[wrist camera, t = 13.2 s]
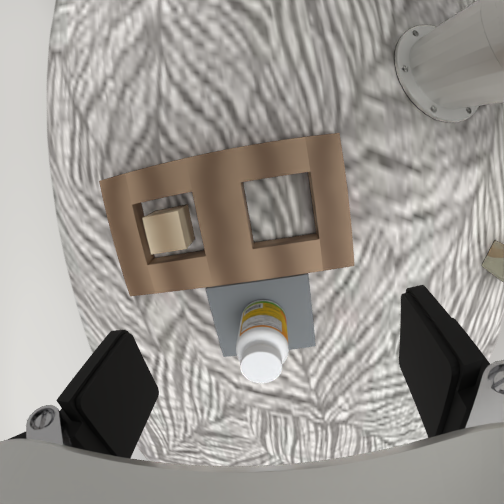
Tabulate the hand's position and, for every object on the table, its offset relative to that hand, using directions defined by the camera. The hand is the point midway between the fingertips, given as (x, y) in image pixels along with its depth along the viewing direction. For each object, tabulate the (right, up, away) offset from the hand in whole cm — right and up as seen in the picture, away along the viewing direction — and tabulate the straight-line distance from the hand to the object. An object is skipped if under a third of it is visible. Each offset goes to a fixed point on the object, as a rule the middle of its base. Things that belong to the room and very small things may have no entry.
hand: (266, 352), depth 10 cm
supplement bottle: (+1, -5, +28) cm, 28 cm away
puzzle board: (-3, +7, +24) cm, 26 cm away
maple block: (-9, +6, +25) cm, 27 cm away
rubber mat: (+1, -5, +28) cm, 28 cm away
